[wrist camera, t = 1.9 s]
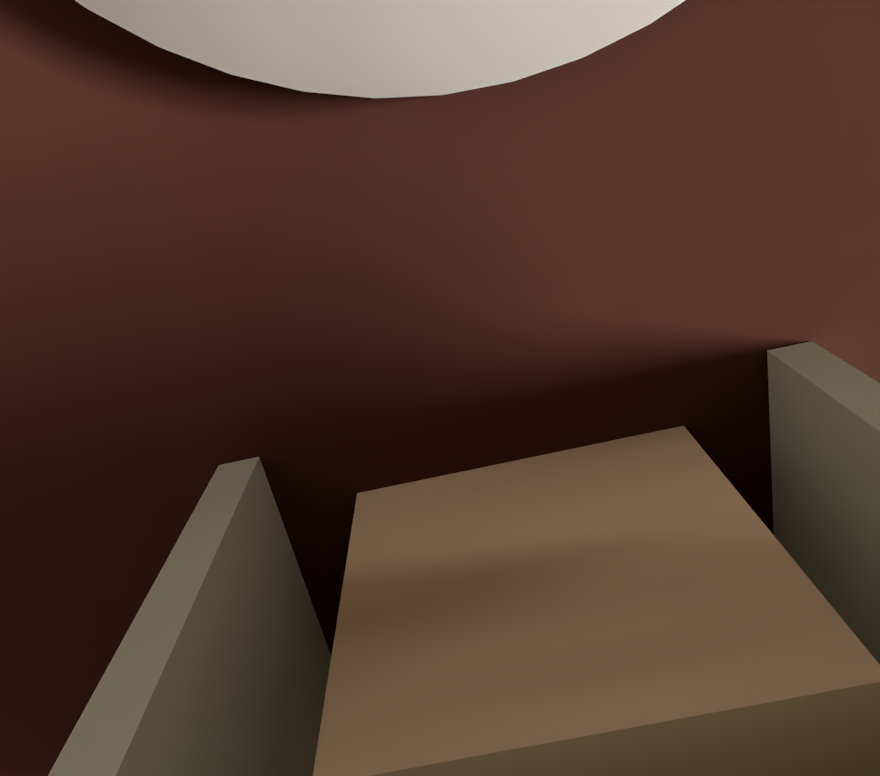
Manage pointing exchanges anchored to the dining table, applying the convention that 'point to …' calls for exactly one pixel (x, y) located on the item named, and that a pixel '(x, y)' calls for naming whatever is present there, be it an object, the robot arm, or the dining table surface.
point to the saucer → (382, 39)
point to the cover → (300, 635)
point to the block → (588, 629)
